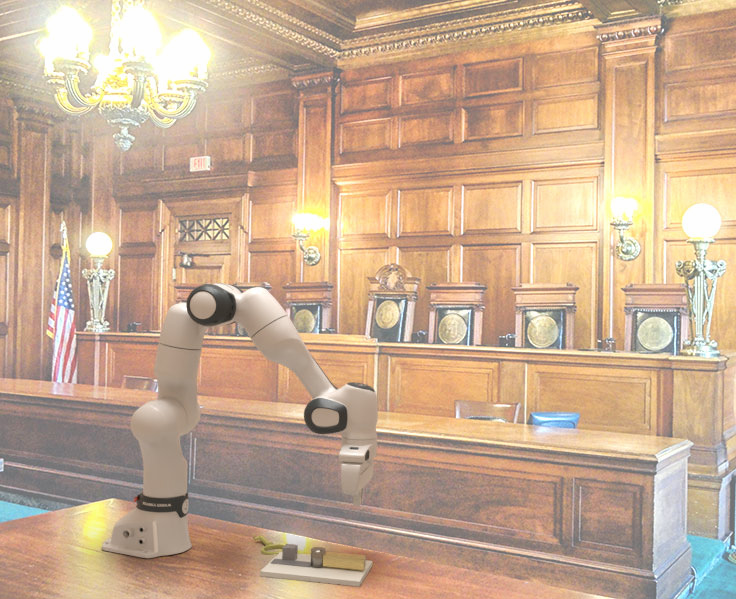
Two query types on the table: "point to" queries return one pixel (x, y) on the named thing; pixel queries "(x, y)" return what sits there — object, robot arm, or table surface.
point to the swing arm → (336, 559)
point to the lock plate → (311, 569)
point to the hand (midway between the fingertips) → (357, 504)
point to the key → (268, 546)
